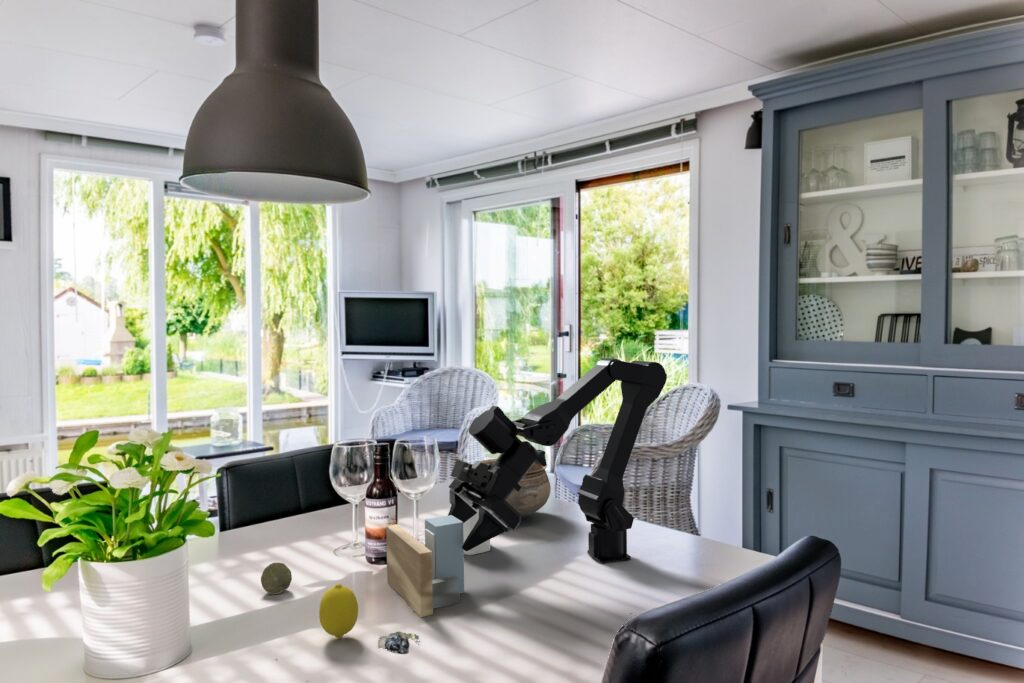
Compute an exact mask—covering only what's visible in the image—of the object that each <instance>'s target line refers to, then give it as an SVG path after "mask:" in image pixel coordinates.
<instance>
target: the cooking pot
mask: <svg viewBox="0 0 1024 683" xmlns="http://www.w3.org/2000/svg"><path fill="white" fill-rule="evenodd" d="M496 460H497V458H490V459H485V460H478V461H479V462H481V463H484V464H486V463H491V464H493V463H494V462H495V461H496ZM546 468H548V464H547V465H546V466H545V467H544V466H541V465H538V464H535V463H534V464H533V465H532V467H531V468H530V469H529V471H528V472H527V473H526V475H525V476H524V477H523V478H522V480H521V481H520V482H519V485H520V486H521V487H522V488H521V489H520V490H519V492H518V491H515V490H513V492H512V493H511V494H510V496H509V497H508V498H507V500H506V501H507V502H508V503H509V504H510V505H511V506H512V507H513V508H514V509H515V510H517V511H518V512H519V513H520V514H521V521H522V520H523V521H524V520H525V519H526V518H528V517H529V516H531V515H532V514H534V513H536V512H538V511H539V510H540V509H542V508H543V507H544V506H545V505H546V504H547V503H548V502H547V501H548V500H549V497H550V496H551V490H552V488H551V483H550V478H549V476H548V474H547V471H546Z"/></svg>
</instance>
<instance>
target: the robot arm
mask: <svg viewBox="0 0 1024 683" xmlns="http://www.w3.org/2000/svg"><path fill="white" fill-rule="evenodd" d="M665 369H666V368H664V365H662V364H661V363H659V362H656V361H648V360H647V361H646V360H632V361H631V362H628V361H623V360H620V359H617V358H612V357H608V358H607V357H604V358H601V359H599V360H598V361H596V364H595V365H594V366H593V367H592V368H591V369H589V370H588V371H587V372H586V373H585V374H583V375H582V376H581V377H580V378H579V379H578V380H577V381H575V382H574V383H573V384H572V385H570V386H569V387H568V388H567V389H566V390H564V391H563V392H562V393H561V394H560V395H559V396H558V397H556V398H555V399H553V400H551V401H549V402H546V403H543V404H541V405H537V407H535V408H533V409H532V410H530V411H527V412H526V413H525V414H524V415H523V417H521V418H519V419H515V420H511V419H510V417H508V416H507V415H506V413H504V411H503V409H502V408H501V407H499V406H497V405H492V406H491V407H490V408H489V409H487V410H485V411H484V412H482V413H481V414H479V416H475V418H474V419H473V420H472V422H471V423H470V425H469V428H468V433H469V435H470V436H472V438H474V439H475V441H476V442H478V443H479V444H480V445H481V446H482V447H483V448H484V449H486V451H487V452H489V454H491V455H497V454H499V456H498V457H497V458H496V459H497V460H496V461H495V462H494V463H493V464H491V463H486V464H484V463H481V462H479V461H480V460H476V461H475V462H474V463H470V462H467V461H465V460H461V459H459V458H456V460H455V463H454V465H453V468H452V471H451V474H450V476H451V477H454V478H453V481H452V482H450V484H449V485H448V488H449V490H450V489H451V490H452V491H453V492H452V491H451V490H450V495H451V500H452V505H451V508H450V507H449V511H448V513H447V516H449V515H452V516H454V517H456V518H457V519H459V520H460V521H462V522H463V523H465V522H466V521H467V520H469V519H470V518H471V517H473V516H474V515H475V514H476V513H477V512H476V511H475V510H474V509H476V510H477V509H479V519H478V521H477V523H476V524H475V526H474V527H473V529H472V531H471V532H470V534H469V535H468V537H467V539H466V540H465V542H464V544H463V546H462V549H463V550H465V551H469V550H471V549H472V548H474V547H476V546H478V545H480V544H482V543H484V542H485V541H487V540H489V539H490V540H491V539H493V538H495V537H498V536H500V535H502V534H504V533H509V532H510V530H512V531H514V532H515V531H516V530H517V528H518V527H519V526H520V524H521V522H522V520H521V514H520V513H519V512H518V511H517V510H515V509H514V508H513V507H512V506H511V505H510V504H509V503H508V502H507V501H506V500H507V498H508V497H509V496H510V494H511V493H512V492H513V490H515V491H518V492H519V490H520V489H521V488H522V487H521V486H520V485H519V482H520V481H521V480H522V478H523V477H524V476H525V475H526V473H527V472H528V471H529V469H530V468H531V467H532V465H533V464H534V463H535V464H538V465H541V466H544V467H545V466H546V465H547V466H548V464H547V460H546V451H544V450H543V449H536V448H535V446H533V444H532V443H534V444H537V445H540V446H544V447H551V446H554V445H556V444H557V443H558V442H559V441H560V440H561V438H562V437H563V436H564V435H565V434H566V432H568V430H569V427H570V425H571V421H572V420H573V419H574V418H575V417H576V416H577V415H578V414H579V413H580V412H581V411H582V410H583V409H584V408H586V407H587V406H588V405H589V404H591V402H592V401H594V400H595V399H596V398H597V397H598V396H600V395H601V394H602V393H603V392H605V390H607V389H608V388H609V387H610V386H611V385H612V384H613V383H615V382H616V381H619V382H620V389H621V390H620V391H621V397H622V399H621V400H622V401H621V405H620V407H619V410H618V412H617V416H616V418H615V420H614V421H615V422H614V424H613V427H612V428H611V429H612V430H611V432H610V434H609V438H608V441H607V444H606V447H605V449H604V453H603V455H602V458H601V461H600V464H599V466H598V468H597V470H596V471H595V472H594V473H593V474H592V475H589V474H587V473H586V474H584V476H583V477H582V481H581V482H582V483H581V485H580V488H579V490H578V491H577V492H576V494H577V495H579V496H578V498H577V499H578V500H577V505H578V506H579V509H580V511H581V512H582V513H583V514H584V517H585V519H586V521H587V522H589V523H590V531H589V532H587V533H588V534H587V536H588V537H587V539H588V540H587V541H588V543H587V544H588V549H587V551H586V552H587V554H588V555H590V557H592V558H594V559H595V560H596V561H597V562H598V563H600V564H604V563H612V562H619V561H620V562H621V561H629V560H631V559H632V556H631V555H629V554H628V537H627V536H628V531H627V530H630V529H632V526H633V523H634V520H635V518H634V516H633V515H632V514H631V513H630V512H629V511H628V510H627V509H626V508H625V507H624V506H623V505H624V501H625V500H624V499H625V488H624V476H625V473H626V469H627V467H628V463H629V462H630V458H631V455H632V452H633V450H634V446H635V444H636V441H637V438H638V435H639V432H640V429H641V426H642V423H643V420H644V418H645V415H646V413H647V410H648V408H650V406H651V405H652V404H653V403H654V402H655V401H656V400H657V399H659V397H660V395H661V393H662V391H663V390H664V387H665V386H666V383H667V379H668V374H667V372H666V370H665ZM518 436H520V437H522V438H523V439H525V440H526V441H525V440H523V441H522V440H521V439H520V438H519V437H518ZM530 442H531V443H530ZM472 507H473V508H474V509H473V508H472ZM482 507H484V508H486V509H487V510H488V511H487V510H485V509H484V508H482ZM509 529H510V530H509Z"/></svg>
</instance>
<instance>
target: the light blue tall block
mask: <svg viewBox="0 0 1024 683" xmlns="http://www.w3.org/2000/svg"><path fill="white" fill-rule="evenodd" d="M463 544H464V539H463V522H462V521H460V520H459V519H457V518H456V517H454V516H452V515H449V516H448V515H444V516H443V515H442V516H438V517H437V516H436V517H431V518H425V519H424V546H425V547H427V548H428V549H429V550H430V551H432V580H436V579H441V578H446V577H451V576H457V577H458V578H459V594H462V593H465V562H464V561H465V558H464V557H465V554H464V550H463V549H462V546H463Z"/></svg>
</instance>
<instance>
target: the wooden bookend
mask: <svg viewBox="0 0 1024 683" xmlns="http://www.w3.org/2000/svg"><path fill="white" fill-rule="evenodd" d="M385 527H386V528H385V532H386V534H385V536H386V573H387V574H386V576H387V578H386V580H387V583H388V584H389V585H390V587H392V588H393V590H395V592H396V593H397V594H398V595H399V596H400V597H401V598H402V599H403V600H404V602H405V603H407V604H408V606H410V608H411V609H412V610H413V611H414V612H415V613H416V614H417V615H418V616H419V617H420V618H423V617H429V616H433V615H434V609H435V608H441V607H446V606H450V605H451V606H452V605H455V604H460V593H459V578H458V577H457V576H451V577H446V578H441V579H436V580H432V551H430V550H429V549H428V548H427V547H425V544H423V543H422V542H420V541H419V540H418V539H416V537H414V535H412V534H410V533H408V532H407V530H405V529H404V528H402V527H401V526H400V525H399V524H397V523H396V524H389V525H386V526H385Z"/></svg>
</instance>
